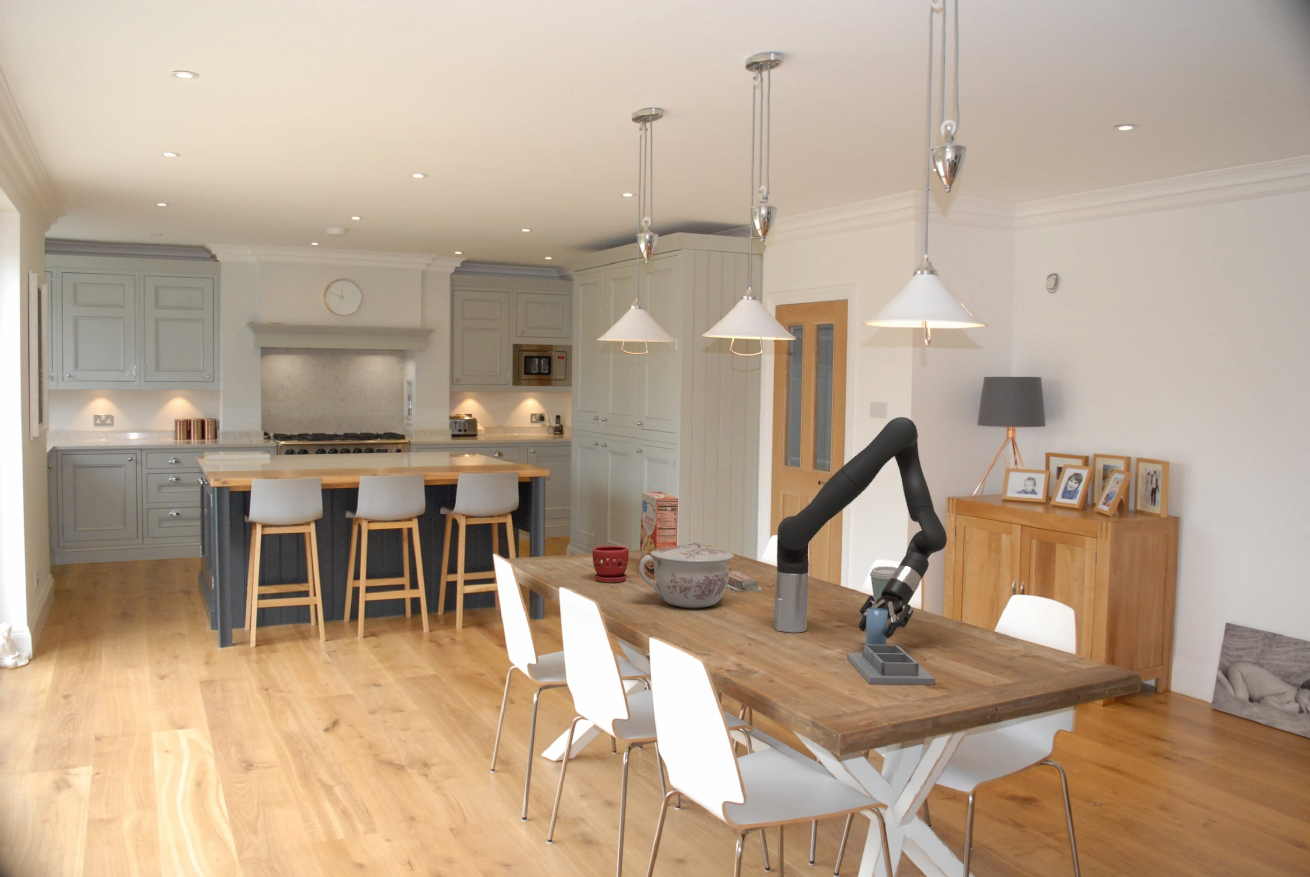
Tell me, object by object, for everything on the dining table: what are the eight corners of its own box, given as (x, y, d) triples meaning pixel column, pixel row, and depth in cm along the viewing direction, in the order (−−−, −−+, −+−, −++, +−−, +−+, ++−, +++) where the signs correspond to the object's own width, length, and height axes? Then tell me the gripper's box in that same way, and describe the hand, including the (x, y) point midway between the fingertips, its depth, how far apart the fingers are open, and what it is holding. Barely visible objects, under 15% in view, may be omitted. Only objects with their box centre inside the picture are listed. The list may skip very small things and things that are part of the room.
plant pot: (630, 577, 357) (630, 545, 357) (625, 584, 344) (626, 551, 344) (595, 576, 359) (595, 544, 358) (589, 583, 346) (589, 549, 345)
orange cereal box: (639, 568, 376) (641, 491, 375) (659, 568, 378) (661, 491, 377) (654, 580, 354) (656, 498, 353) (675, 579, 356) (678, 498, 355)
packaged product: (763, 578, 339) (737, 579, 336) (762, 592, 340) (736, 593, 336) (741, 569, 356) (716, 570, 353) (741, 582, 357) (716, 583, 353)
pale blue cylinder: (868, 656, 258) (870, 612, 257) (862, 651, 263) (864, 607, 262) (888, 656, 258) (890, 612, 257) (882, 651, 263) (884, 607, 263)
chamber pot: (744, 601, 323) (746, 539, 322) (714, 617, 298) (716, 551, 297) (668, 591, 334) (669, 532, 333) (633, 607, 309) (634, 542, 308)
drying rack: (869, 684, 233) (870, 665, 233) (847, 658, 255) (847, 641, 255) (935, 684, 234) (935, 666, 234) (906, 659, 256) (907, 642, 256)
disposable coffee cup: (903, 620, 300) (905, 572, 299) (868, 618, 302) (870, 570, 301) (902, 613, 310) (904, 566, 310) (867, 610, 312) (869, 564, 312)
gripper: (875, 573, 270) (846, 619, 263) (917, 581, 259) (888, 630, 252) (886, 590, 273) (858, 635, 267) (929, 599, 262) (900, 647, 256)
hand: (873, 632), depth 259 cm, fingers open, 8 cm apart
